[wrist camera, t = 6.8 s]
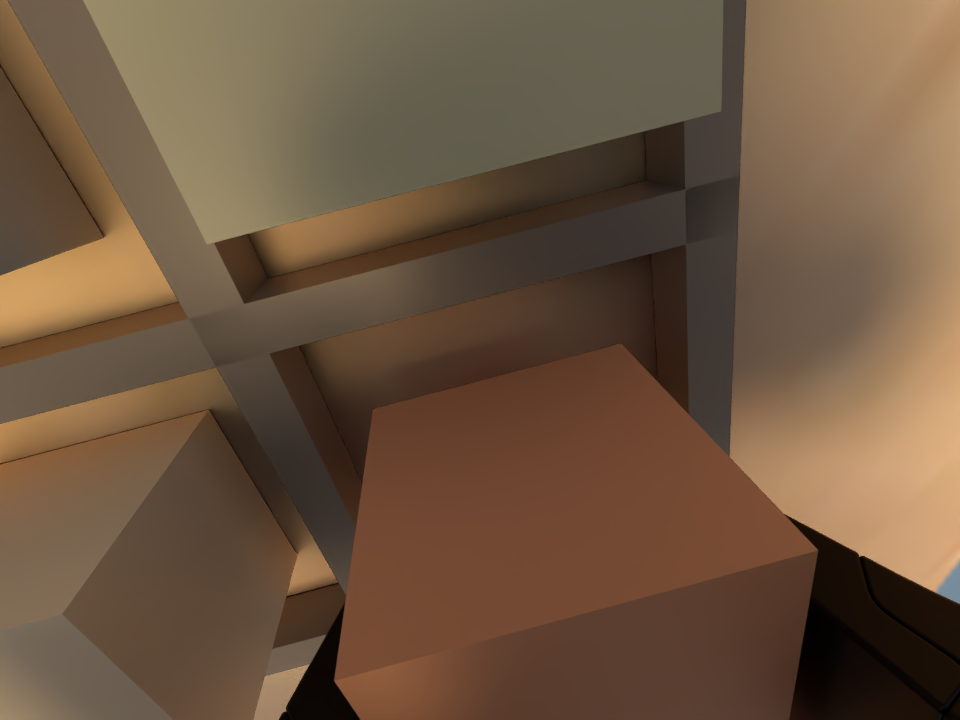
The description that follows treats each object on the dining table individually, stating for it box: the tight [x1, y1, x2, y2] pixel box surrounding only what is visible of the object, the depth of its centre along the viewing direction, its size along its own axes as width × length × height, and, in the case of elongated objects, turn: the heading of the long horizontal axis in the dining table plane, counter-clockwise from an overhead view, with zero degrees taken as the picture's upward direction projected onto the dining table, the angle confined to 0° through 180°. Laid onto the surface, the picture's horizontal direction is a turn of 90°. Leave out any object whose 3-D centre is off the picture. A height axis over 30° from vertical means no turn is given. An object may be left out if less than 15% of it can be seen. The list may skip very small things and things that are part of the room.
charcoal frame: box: [0, 0, 746, 720], centre depth 7 cm, size 19×19×5 cm
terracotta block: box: [334, 344, 818, 720], centre depth 8 cm, size 5×5×5 cm
